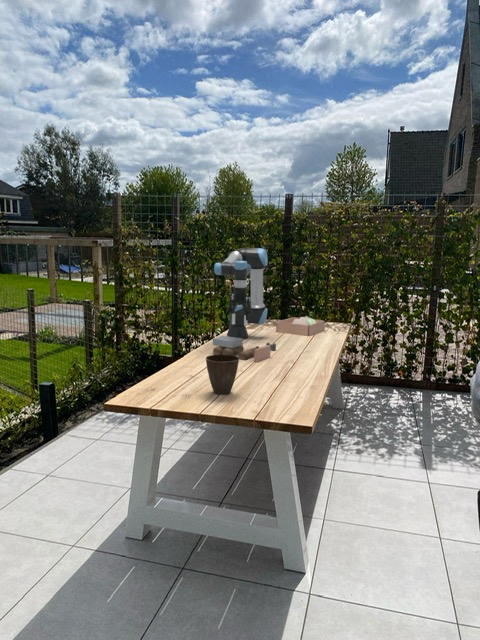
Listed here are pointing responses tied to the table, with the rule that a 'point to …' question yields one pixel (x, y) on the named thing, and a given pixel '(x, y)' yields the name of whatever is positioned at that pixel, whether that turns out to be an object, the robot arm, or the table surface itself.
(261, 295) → the robot arm
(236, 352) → the roller
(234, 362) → the plant pot
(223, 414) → the table surface
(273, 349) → the rack
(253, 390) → the table surface
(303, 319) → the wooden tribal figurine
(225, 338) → the slab
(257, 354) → the block
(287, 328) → the planter
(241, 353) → the roller
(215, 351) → the roller
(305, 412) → the table surface
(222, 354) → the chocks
